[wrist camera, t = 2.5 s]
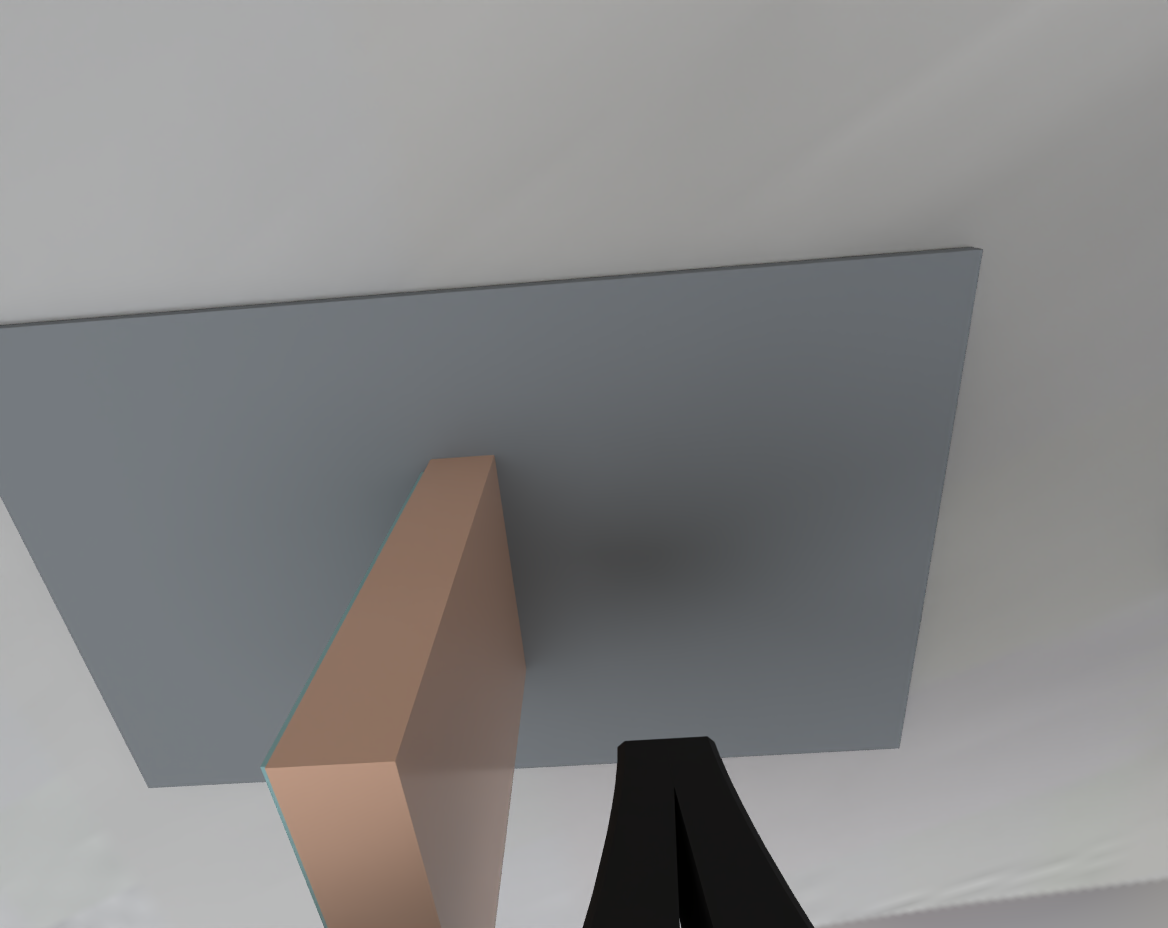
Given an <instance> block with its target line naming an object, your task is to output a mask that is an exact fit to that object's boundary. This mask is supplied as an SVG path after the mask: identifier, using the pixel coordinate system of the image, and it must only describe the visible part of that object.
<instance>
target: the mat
mask: <svg viewBox="0 0 1168 928" xmlns="http://www.w3.org/2000/svg"><path fill="white" fill-rule="evenodd" d="M982 252H983V249H979V248H974V247H966V248H954V249H941V250H929V251H917V252H904V253H892V254H879V255H867V256H855V257H842V258H830V259H818V260H805V261H793V262H780V263H768V264H756V265H743V266H731V267H718V268H706V269H694V270H681V271H669V272H657V273H644V274H632V275H619V276H607V277H595V278H582V279H570V280H557V281H545V282H533V283H520V284H508V285H496V286H483V287H471V288H458V289H446V290H434V291H421V292H409V293H397V294H384V295H372V296H359V297H347V298H335V299H322V300H310V301H297V302H285V303H273V304H260V305H248V306H236V307H223V308H211V309H198V310H186V311H174V312H161V313H149V314H136V315H124V316H112V317H99V318H87V319H75V320H62V321H50V322H37V323H25V324H13V325H0V497H1V499H2V500H3V502H4V504H5V506H6V508H7V510H8V512H9V514H10V516H11V518H12V520H13V522H14V524H15V526H16V528H17V530H18V532H19V534H20V536H21V538H22V540H23V542H24V544H25V546H26V548H27V550H28V552H29V554H30V556H31V558H32V559H33V561H34V563H35V565H36V567H37V569H38V571H39V573H40V575H41V577H42V579H43V581H44V583H45V585H46V587H47V589H48V591H49V593H50V595H51V597H52V599H53V601H54V603H55V605H56V607H57V609H58V611H59V613H60V615H61V616H62V618H63V620H64V622H65V624H66V626H67V628H68V630H69V632H70V634H71V636H72V638H73V640H74V642H75V644H76V646H77V648H78V650H79V652H80V654H81V656H82V658H83V660H84V662H85V664H86V666H87V668H88V670H89V672H90V674H91V675H92V677H93V679H94V681H95V683H96V685H97V687H98V689H99V691H100V693H101V695H102V697H103V699H104V701H105V703H106V705H107V707H108V709H109V711H110V713H111V715H112V717H113V719H114V721H115V723H116V725H117V727H118V729H119V731H120V733H121V734H122V736H123V738H124V740H125V742H126V744H127V746H128V748H129V750H130V752H131V754H132V756H133V758H134V760H135V762H136V764H137V766H138V768H139V770H140V772H141V774H142V776H143V778H144V780H145V782H146V784H147V786H148V788H158V787H177V786H196V785H215V784H233V783H252V782H266V780H265V778H264V775H263V773H262V770H261V768H260V767H261V765H262V763H263V761H264V759H265V757H266V756H267V754H268V752H269V750H270V748H271V746H272V745H273V743H274V741H275V739H276V737H277V735H278V734H279V732H280V730H281V728H282V726H283V724H284V723H285V721H286V719H287V717H288V715H289V713H290V712H291V710H292V708H293V706H294V704H295V702H296V701H297V699H298V697H299V695H300V693H301V691H302V690H303V688H304V686H305V684H306V682H307V680H308V679H309V677H310V675H311V673H312V671H313V669H314V668H315V666H316V664H317V662H318V660H319V658H320V657H321V655H322V653H323V651H324V649H325V647H326V646H327V644H328V642H329V640H330V638H331V636H332V635H333V633H334V631H335V629H336V627H337V625H338V624H339V622H340V620H341V618H342V616H343V614H344V613H345V611H346V609H347V607H348V605H349V603H350V602H351V600H352V598H353V596H354V594H355V592H356V591H357V589H358V587H359V585H360V583H361V581H362V580H363V578H364V576H365V574H366V572H367V570H368V569H369V567H370V565H371V563H372V561H373V559H374V558H375V556H376V554H377V552H378V550H379V548H380V547H381V545H382V543H383V541H384V539H385V537H386V536H387V534H388V532H389V530H390V528H391V526H392V525H393V523H394V521H395V519H396V517H397V515H398V514H399V512H400V510H401V508H402V506H403V504H404V503H405V501H406V499H407V497H408V495H409V493H410V492H411V490H412V488H413V486H414V484H415V482H416V481H417V479H418V477H419V475H420V473H421V472H424V471H425V469H426V467H427V465H428V463H429V461H430V460H431V459H442V458H456V457H470V456H485V455H494V456H495V463H496V469H497V476H498V483H499V489H500V496H501V503H502V509H503V516H504V523H505V530H506V536H507V543H508V550H509V556H510V563H511V570H512V577H513V583H514V590H515V597H516V603H517V610H518V617H519V623H520V630H521V637H522V644H523V650H524V657H525V664H526V676H525V684H524V693H523V701H522V709H521V717H520V726H519V734H518V742H517V750H516V758H515V767H514V769H517V768H536V767H555V766H574V765H593V764H611V763H617V747H618V746H619V745H620V744H622V743H623V742H624V741H631V740H649V739H667V738H684V737H702V736H708V737H709V738H710V739H712V740H713V741H714V742H715V744H716V747H717V749H718V752H719V754H720V757H721V758H725V757H744V756H763V755H782V754H801V753H819V752H838V751H857V750H876V749H895V748H899V747H900V741H901V735H902V729H903V723H904V717H905V711H906V705H907V699H908V693H909V687H910V681H911V675H912V669H913V663H914V657H915V651H916V646H917V640H918V634H919V628H920V622H921V616H922V610H923V604H924V598H925V592H926V586H927V580H928V574H929V568H930V562H931V556H932V550H933V544H934V538H935V532H936V526H937V520H938V514H939V508H940V502H941V497H942V491H943V485H944V479H945V473H946V467H947V461H948V455H949V449H950V443H951V437H952V431H953V425H954V419H955V413H956V407H957V401H958V395H959V389H960V383H961V377H962V371H963V365H964V359H965V354H966V348H967V342H968V336H969V330H970V324H971V318H972V312H973V306H974V300H975V294H976V288H977V282H978V276H979V270H980V264H981V258H982Z"/></svg>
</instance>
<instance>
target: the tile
mask: <svg viewBox="0 0 1168 928" xmlns="http://www.w3.org/2000/svg"><path fill="white" fill-rule="evenodd" d="M525 676H526V664H525V657H524V650H523V644H522V637H521V630H520V623H519V617H518V610H517V603H516V597H515V590H514V583H513V577H512V570H511V563H510V556H509V550H508V543H507V536H506V530H505V523H504V516H503V509H502V503H501V496H500V489H499V483H498V476H497V469H496V463H495V456H494V455H485V456H470V457H456V458H442V459H431V460H430V461H429V463H428V465H427V467H426V469H425V471H424V472H421V473H420V475H419V477H418V479H417V481H416V482H415V484H414V486H413V488H412V490H411V492H410V493H409V495H408V497H407V499H406V501H405V503H404V504H403V506H402V508H401V510H400V512H399V514H398V515H397V517H396V519H395V521H394V523H393V525H392V526H391V528H390V530H389V532H388V534H387V536H386V537H385V539H384V541H383V543H382V545H381V547H380V548H379V550H378V552H377V554H376V556H375V558H374V559H373V561H372V563H371V565H370V567H369V569H368V570H367V572H366V574H365V576H364V578H363V580H362V581H361V583H360V585H359V587H358V589H357V591H356V592H355V594H354V596H353V598H352V600H351V602H350V603H349V605H348V607H347V609H346V611H345V613H344V614H343V616H342V618H341V620H340V622H339V624H338V625H337V627H336V629H335V631H334V633H333V635H332V636H331V638H330V640H329V642H328V644H327V646H326V647H325V649H324V651H323V653H322V655H321V657H320V658H319V660H318V662H317V664H316V666H315V668H314V669H313V671H312V673H311V675H310V677H309V679H308V680H307V682H306V684H305V686H304V688H303V690H302V691H301V693H300V695H299V697H298V699H297V701H296V702H295V704H294V706H293V708H292V710H291V712H290V713H289V715H288V717H287V719H286V721H285V723H284V724H283V726H282V728H281V730H280V732H279V734H278V735H277V737H276V739H275V741H274V743H273V745H272V746H271V748H270V750H269V752H268V754H267V756H266V757H265V759H264V761H263V763H262V765H261V767H260V768H261V770H262V773H263V775H264V778H265V780H266V783H267V785H268V788H269V790H270V793H271V795H272V798H273V800H274V803H275V805H276V808H277V810H278V813H279V815H280V818H281V820H282V823H283V825H284V828H285V830H286V833H287V835H288V838H289V840H290V843H291V845H292V848H293V850H294V853H295V855H296V858H297V860H298V863H299V865H300V868H301V870H302V873H303V875H304V878H305V880H306V883H307V885H308V888H309V890H310V893H311V895H312V898H313V900H314V903H315V905H316V908H317V910H318V913H319V915H320V918H321V920H322V923H323V925H324V928H495V923H496V915H497V907H498V898H499V890H500V882H501V874H502V865H503V857H504V849H505V841H506V833H507V824H508V816H509V808H510V800H511V791H512V783H513V775H514V767H515V758H516V750H517V742H518V734H519V726H520V717H521V709H522V701H523V693H524V684H525Z"/></svg>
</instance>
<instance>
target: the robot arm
mask: <svg viewBox="0 0 1168 928" xmlns="http://www.w3.org/2000/svg"><path fill="white" fill-rule="evenodd" d="M679 918H680V921H679ZM680 923H681V928H814V926H813V925H812V923H811V922H810V920H809V918H808V917H807V915H806V914H805V912H804V910H803V909H802V907H801V906H800V904H799V902H798V901H797V899H796V898H795V896H794V894H793V893H792V891H791V889H790V888H789V886H788V884H787V882H786V881H785V879H784V877H783V876H782V874H781V872H780V871H779V869H778V867H777V865H776V864H775V862H774V860H773V859H772V857H771V855H770V854H769V852H768V850H767V848H766V847H765V845H764V843H763V841H762V840H761V838H760V836H759V834H758V832H757V831H756V829H755V827H754V825H753V823H752V821H751V819H750V817H749V815H748V814H747V812H746V810H745V808H744V806H743V804H742V802H741V800H740V798H739V796H738V794H737V792H736V790H735V788H734V786H733V784H732V782H731V780H730V777H729V775H728V773H727V771H726V769H725V766H724V764H723V762H722V759H721V757H720V754H719V752H718V749H717V747H716V744H715V742H714V741H713V740H712V739H710V738H709V737H708V736H702V737H684V738H667V739H649V740H631V741H624V742H623V743H622V744H620V745H619V746H618V747H617V772H616V782H615V790H614V797H613V803H612V809H611V814H610V820H609V825H608V831H607V836H606V840H605V844H604V848H603V852H602V857H601V861H600V865H599V869H598V873H597V878H596V882H595V886H594V890H593V894H592V897H591V901H590V905H589V908H588V911H587V915H586V918H585V921H584V925H583V928H680Z"/></svg>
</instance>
